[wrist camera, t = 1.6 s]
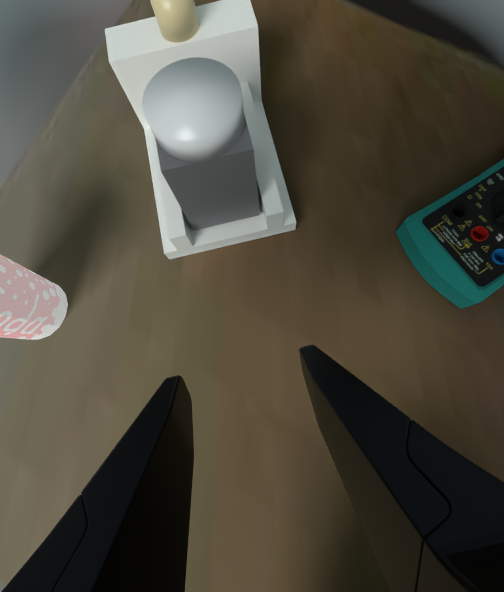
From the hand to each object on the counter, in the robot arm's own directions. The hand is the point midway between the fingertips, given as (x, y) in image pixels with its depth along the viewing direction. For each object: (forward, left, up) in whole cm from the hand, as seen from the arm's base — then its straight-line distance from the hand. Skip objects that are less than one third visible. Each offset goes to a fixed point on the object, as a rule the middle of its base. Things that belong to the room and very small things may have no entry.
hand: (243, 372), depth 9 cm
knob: (+10, +10, -12) cm, 18 cm away
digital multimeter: (+19, -9, -14) cm, 25 cm away
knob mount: (+12, +12, -14) cm, 22 cm away
